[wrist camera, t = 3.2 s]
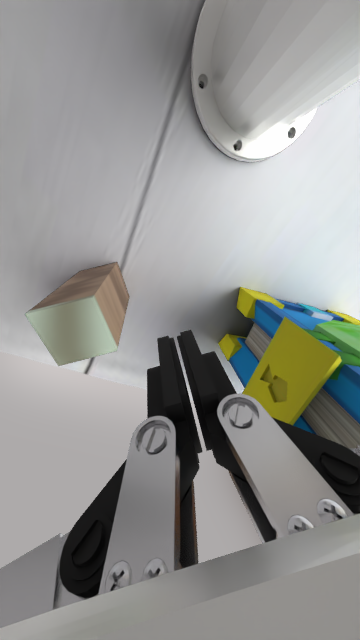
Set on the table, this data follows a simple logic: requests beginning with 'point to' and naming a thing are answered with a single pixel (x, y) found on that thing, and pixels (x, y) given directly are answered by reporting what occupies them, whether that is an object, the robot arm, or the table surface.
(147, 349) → the table surface
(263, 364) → the decorative book
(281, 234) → the table surface
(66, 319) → the walnut block
